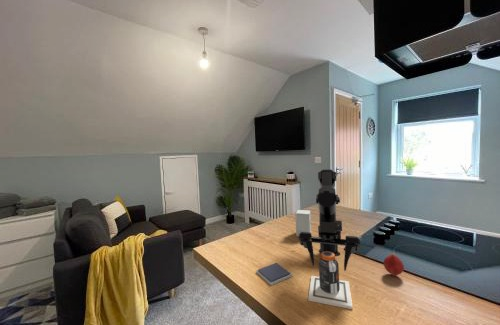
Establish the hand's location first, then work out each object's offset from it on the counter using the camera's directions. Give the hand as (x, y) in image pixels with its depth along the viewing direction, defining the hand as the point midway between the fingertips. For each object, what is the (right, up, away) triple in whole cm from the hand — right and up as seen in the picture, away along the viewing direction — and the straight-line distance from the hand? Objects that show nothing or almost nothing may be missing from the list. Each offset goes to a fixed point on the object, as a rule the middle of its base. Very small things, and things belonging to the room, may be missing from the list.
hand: (328, 268), depth 65 cm
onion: (+26, -7, +8) cm, 28 cm away
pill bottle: (+1, -8, +2) cm, 8 cm away
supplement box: (+5, -7, +48) cm, 49 cm away
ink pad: (-16, -9, +13) cm, 22 cm away
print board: (+1, -8, +2) cm, 8 cm away
